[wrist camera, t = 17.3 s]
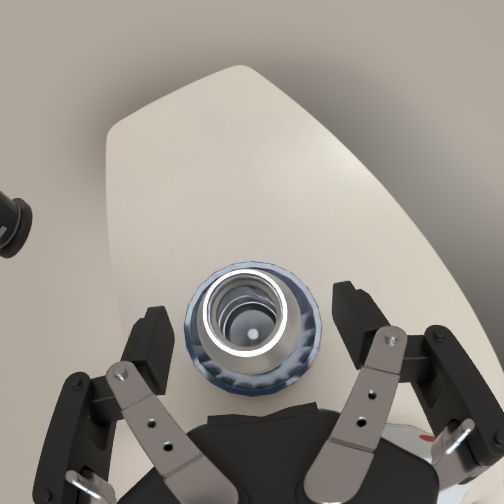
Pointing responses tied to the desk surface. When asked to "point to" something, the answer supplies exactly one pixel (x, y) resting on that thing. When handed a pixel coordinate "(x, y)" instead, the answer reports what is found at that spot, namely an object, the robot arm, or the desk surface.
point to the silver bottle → (249, 322)
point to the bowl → (278, 376)
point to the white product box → (423, 455)
